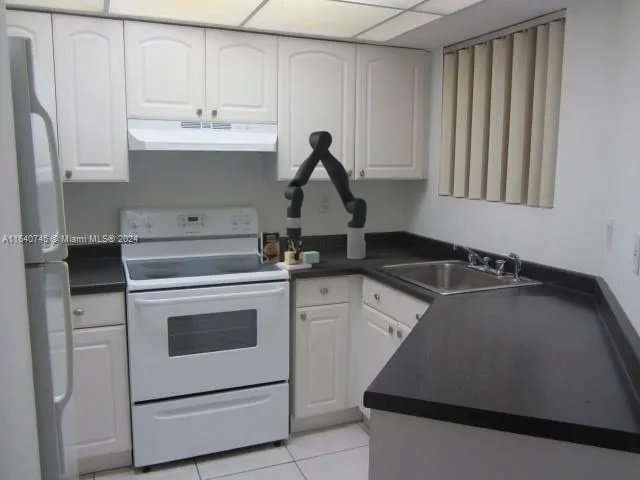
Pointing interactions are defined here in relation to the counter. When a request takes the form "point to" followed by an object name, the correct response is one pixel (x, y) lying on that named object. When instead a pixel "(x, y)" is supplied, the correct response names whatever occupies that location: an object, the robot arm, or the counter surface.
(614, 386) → the counter surface
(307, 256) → the sage brick
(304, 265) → the baseplate
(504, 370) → the counter surface
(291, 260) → the maple brick
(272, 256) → the cookie box
